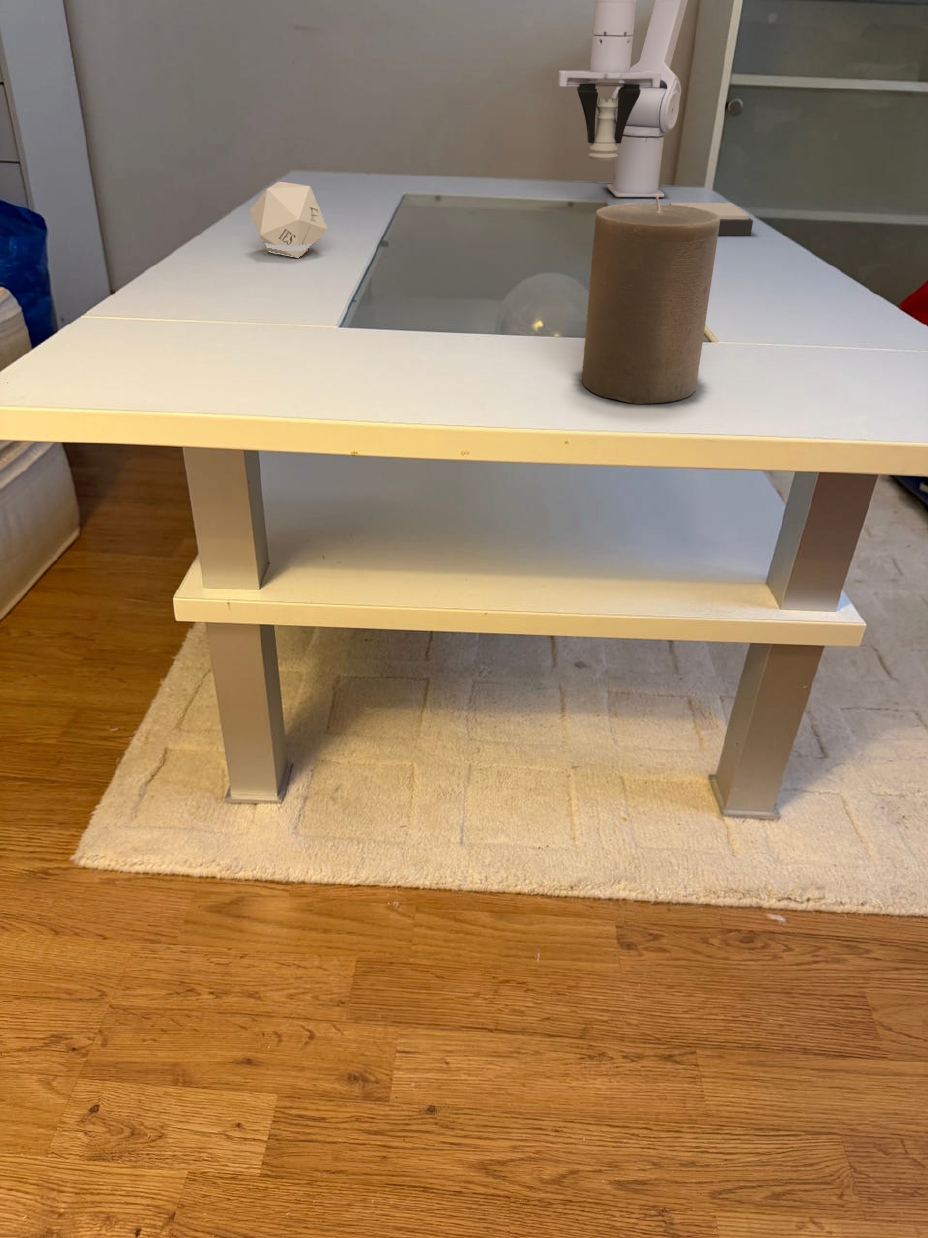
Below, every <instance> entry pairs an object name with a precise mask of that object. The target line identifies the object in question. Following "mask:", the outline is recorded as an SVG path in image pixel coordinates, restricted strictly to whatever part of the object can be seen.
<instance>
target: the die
mask: <svg viewBox="0 0 928 1238" xmlns="http://www.w3.org/2000/svg"><path fill="white" fill-rule="evenodd" d="M249 214H250V215H251V218H252V220H253V223H254V225H255V228H256V230H257V232H258V234H259V237H260V239H261V240H263V241H262V243H263V242H264V243H268V244H273V245H286V246H287V245H289V246H300V245H301V244H302V245H307V244H312V243H314V244H316V243H317V242H318V241H319V240H320V238H322V237H323V235H324V234H326V233H327V231H328V230H329V228H328V226H327V223H326V221H325V219H324V216H323V214H322V212H321V209H320V207H319V204H318V202H317V200H316V197H315V195H314V193H313V190H312V188H311V186H310V185H305V184H299V183H292V182H285V181H277V182H276V183H274V184H272V185H271V186H269V187H267V188H266V189H265V191H263V193H262V194H261V196H260V197H259V198H258V199H257V201H255V203H254V204H253V205H252V207H251V208H250V209H249ZM264 243H263V244H264ZM265 250H266V252H267V251H271V252H275V253H280V254H284V255H289V256H293V257H300V256H301V257H302V256H303V255H304V254H305V253H307V252H308V251H309V250H308V249H307V250H302V251H282V250H277V249H272V248H267V247H265ZM301 257H300V258H301Z"/></svg>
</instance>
